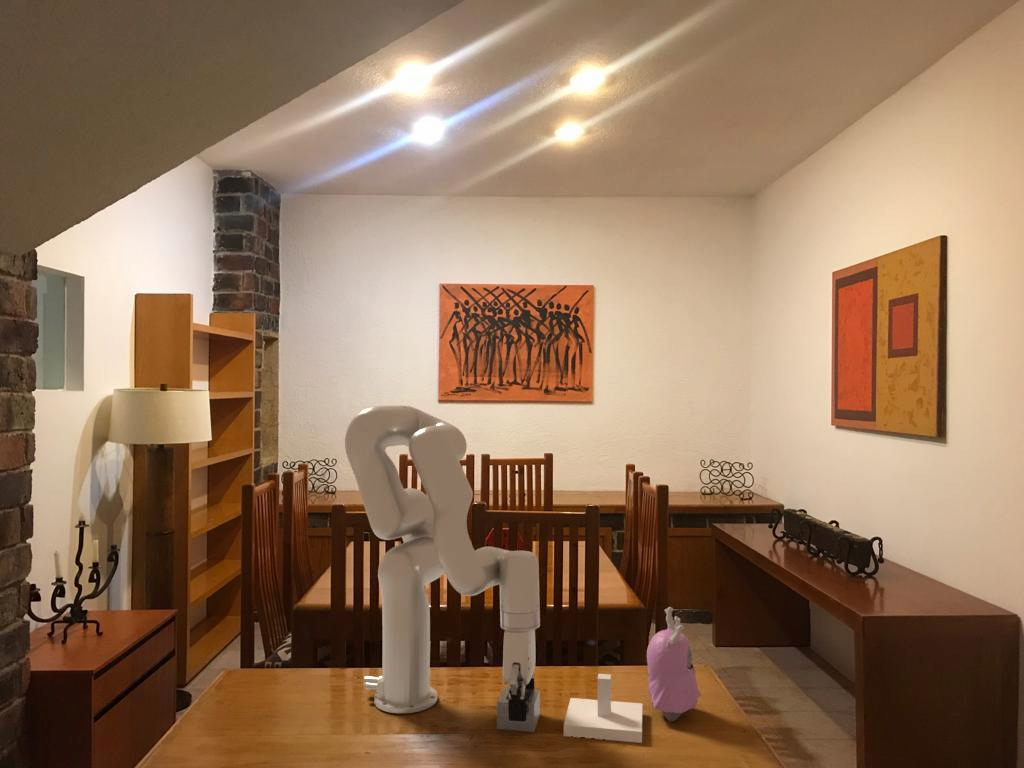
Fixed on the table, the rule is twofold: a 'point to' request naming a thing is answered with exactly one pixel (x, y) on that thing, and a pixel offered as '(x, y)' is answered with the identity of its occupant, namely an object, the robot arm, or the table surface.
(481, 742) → the table surface
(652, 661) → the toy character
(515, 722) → the collar
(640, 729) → the post plinth
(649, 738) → the table surface
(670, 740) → the table surface
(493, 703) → the table surface
